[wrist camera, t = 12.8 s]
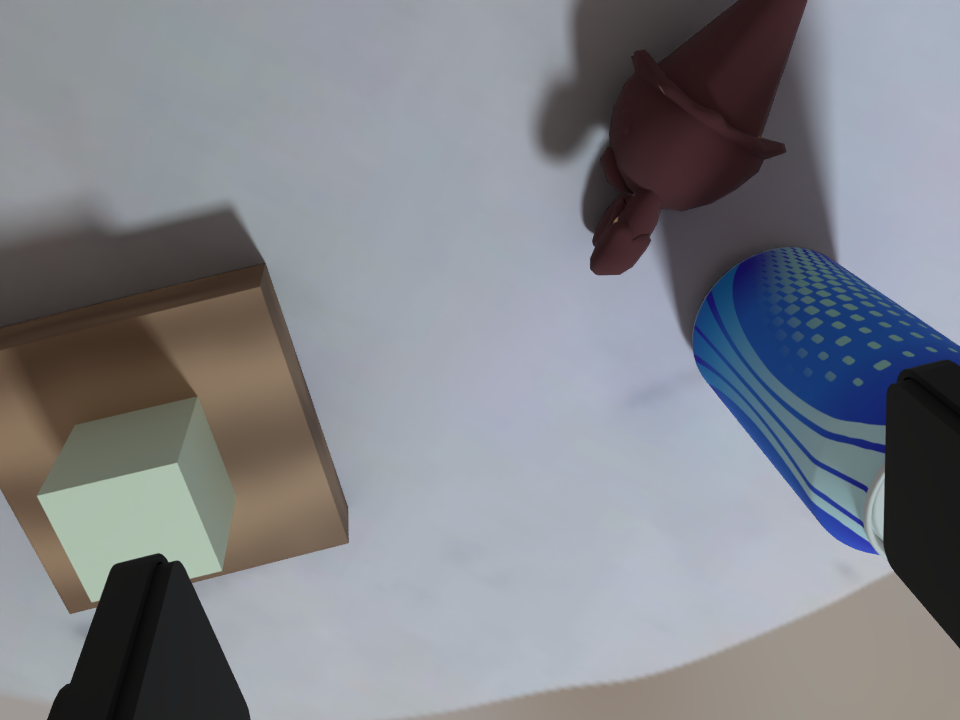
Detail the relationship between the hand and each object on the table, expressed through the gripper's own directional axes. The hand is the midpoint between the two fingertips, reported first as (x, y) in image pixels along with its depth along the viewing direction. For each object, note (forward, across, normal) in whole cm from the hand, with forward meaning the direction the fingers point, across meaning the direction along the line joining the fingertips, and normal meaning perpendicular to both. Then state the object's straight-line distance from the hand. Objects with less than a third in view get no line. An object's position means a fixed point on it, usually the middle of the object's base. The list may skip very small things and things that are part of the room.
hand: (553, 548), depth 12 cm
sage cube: (+27, +15, +12) cm, 33 cm away
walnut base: (+30, +15, +12) cm, 36 cm away
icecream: (+30, -12, +2) cm, 33 cm away
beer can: (+30, -15, +14) cm, 37 cm away
